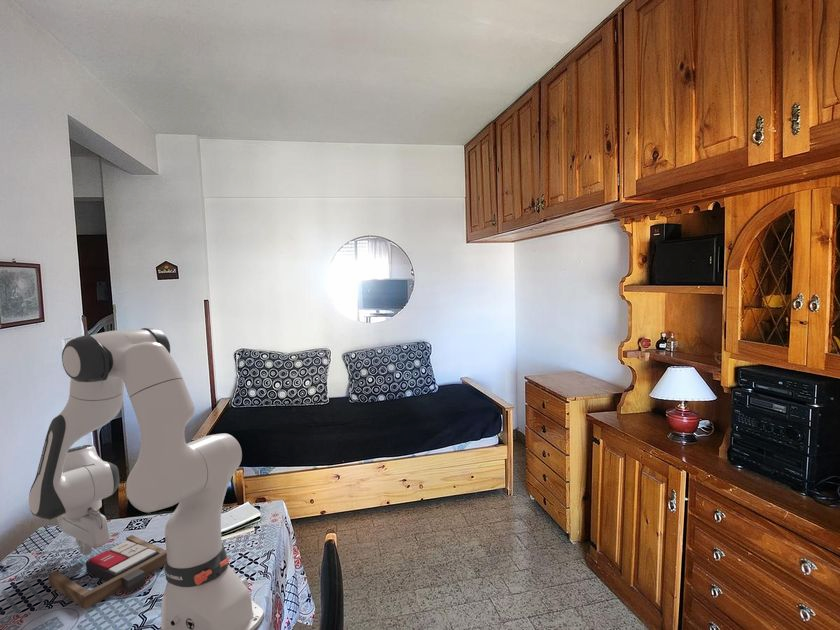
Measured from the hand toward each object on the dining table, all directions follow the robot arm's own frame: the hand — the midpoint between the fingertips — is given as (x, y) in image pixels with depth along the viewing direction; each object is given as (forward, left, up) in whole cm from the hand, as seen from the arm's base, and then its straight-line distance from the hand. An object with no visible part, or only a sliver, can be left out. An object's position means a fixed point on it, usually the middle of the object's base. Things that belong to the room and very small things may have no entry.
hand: (85, 553), depth 125 cm
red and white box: (-13, -3, -3) cm, 14 cm away
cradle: (-15, 0, -2) cm, 15 cm away
